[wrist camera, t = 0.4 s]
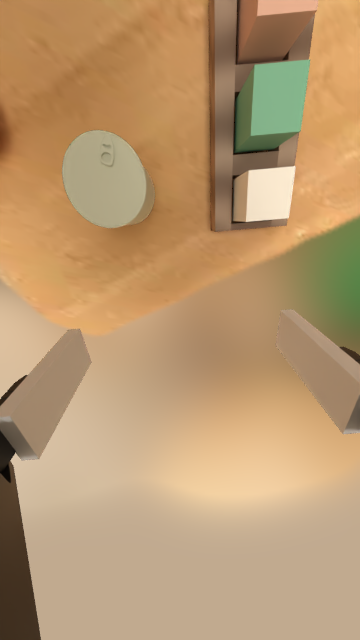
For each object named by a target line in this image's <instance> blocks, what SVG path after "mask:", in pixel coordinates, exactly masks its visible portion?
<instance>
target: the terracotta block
mask: <svg viewBox="0 0 360 640" xmlns="http://www.w3.org/2000/svg"><path fill="white" fill-rule="evenodd" d="M317 6H318V0H238V33H237V65H241V64H252V63H263V62H273V61H282V60H283V58H284V57H285V55H286V54H287V52H288V51H289V50H290V48H291V47H292V45H293V44H294V42H295V41H296V40H297V38H298V37H299V35H300V34H301V32H302V31H303V29H304V28H305V27H306V25H307V24H308V22H309V21H310V19H311V18H312V17H313V15H314V14H315V12H316V11H317Z"/></svg>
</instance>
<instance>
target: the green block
mask: <svg viewBox="0 0 360 640" xmlns="http://www.w3.org/2000/svg"><path fill="white" fill-rule="evenodd" d="M309 65H310V60H300V61H289V62H278V63H268V64H257V65H254V67H253V69H252V71H251V72H250V74H249V76H248V78H247V80H246V82H245V84H244V85H243V87H242V89H241V91H240V93H239V95H238V97H237V98H236V103H235V138H234V153H241V152H252V151H263V150H273V149H275V148H276V147H278V146H279V145H281V144H282V143H284V142H285V141H287V140H288V139H290V138H291V137H293V136H294V135H296V134H297V133H299V132H300V131H301V124H302V117H303V109H304V102H305V95H306V87H307V80H308V73H309Z"/></svg>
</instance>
